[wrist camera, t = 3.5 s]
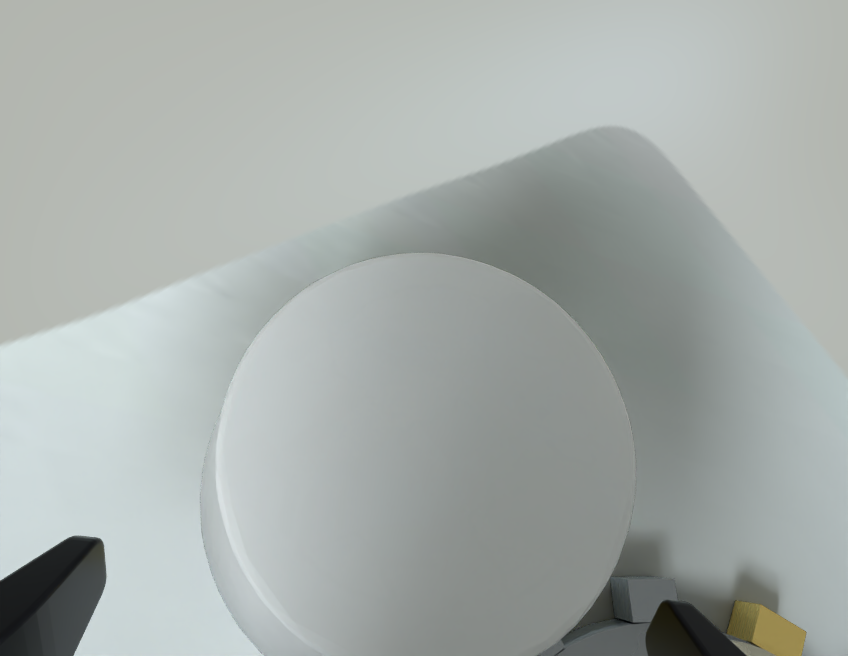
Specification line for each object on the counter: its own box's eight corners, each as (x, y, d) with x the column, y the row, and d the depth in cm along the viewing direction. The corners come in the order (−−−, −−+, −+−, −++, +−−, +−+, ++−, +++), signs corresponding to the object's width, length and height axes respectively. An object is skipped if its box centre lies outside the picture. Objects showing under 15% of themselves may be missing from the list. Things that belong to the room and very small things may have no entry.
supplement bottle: (512, 518, 18) (836, 475, 6) (362, 674, 16) (414, 1086, 4) (387, 373, 19) (454, 108, 7) (231, 497, 17) (-30, 397, 5)
